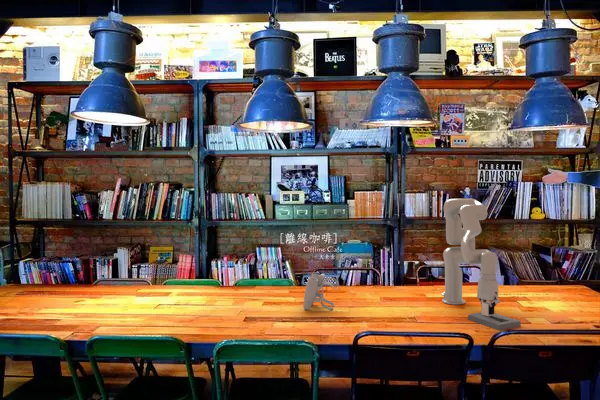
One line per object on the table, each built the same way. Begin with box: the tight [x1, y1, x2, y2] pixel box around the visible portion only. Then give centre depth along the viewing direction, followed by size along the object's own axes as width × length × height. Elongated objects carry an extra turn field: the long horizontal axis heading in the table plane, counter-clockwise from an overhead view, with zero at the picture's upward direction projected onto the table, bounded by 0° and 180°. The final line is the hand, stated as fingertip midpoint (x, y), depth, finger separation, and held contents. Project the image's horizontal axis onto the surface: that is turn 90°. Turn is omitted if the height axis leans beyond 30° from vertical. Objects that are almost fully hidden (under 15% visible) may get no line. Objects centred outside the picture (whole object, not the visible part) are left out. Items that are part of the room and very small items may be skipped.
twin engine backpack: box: [303, 271, 341, 311], centre depth 278 cm, size 18×19×20 cm
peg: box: [481, 301, 494, 317], centre depth 250 cm, size 4×4×9 cm
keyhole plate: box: [467, 311, 522, 331], centre depth 247 cm, size 20×14×2 cm
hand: (487, 312), depth 250 cm, fingers closed on peg, 4 cm apart
